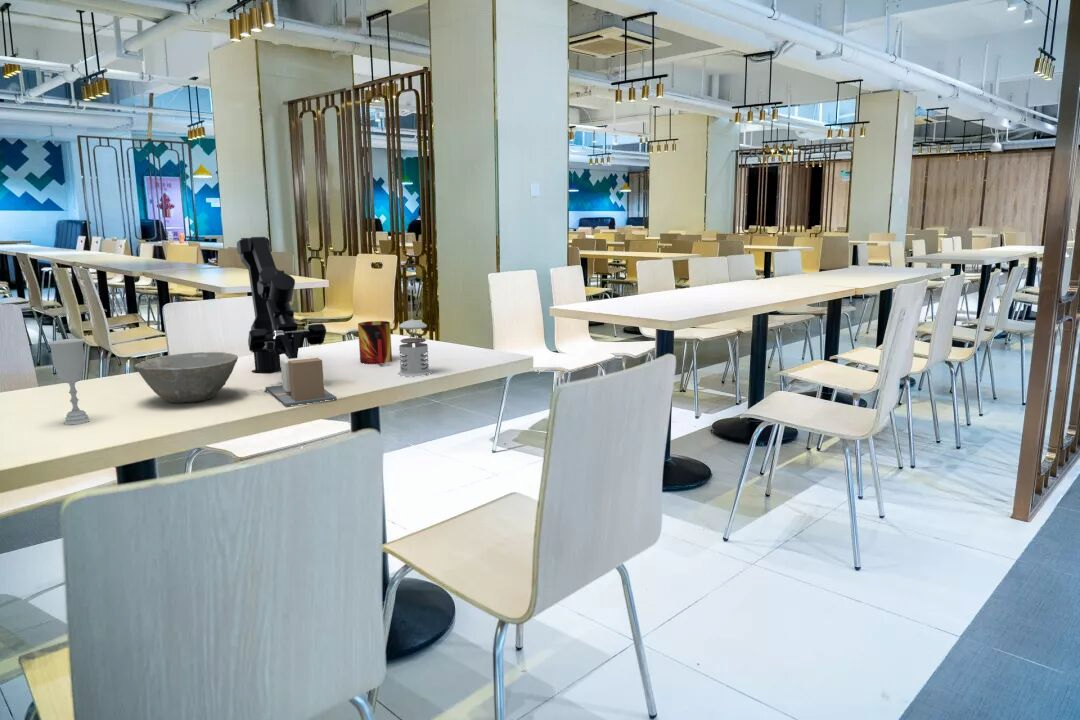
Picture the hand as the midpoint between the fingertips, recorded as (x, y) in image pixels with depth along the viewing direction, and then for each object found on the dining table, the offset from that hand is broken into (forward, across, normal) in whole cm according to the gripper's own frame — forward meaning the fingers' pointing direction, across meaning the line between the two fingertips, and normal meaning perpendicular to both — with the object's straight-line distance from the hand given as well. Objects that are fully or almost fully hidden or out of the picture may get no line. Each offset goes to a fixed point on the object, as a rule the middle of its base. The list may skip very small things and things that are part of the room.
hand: (295, 362), depth 187 cm
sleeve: (+6, 0, -2) cm, 7 cm away
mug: (-15, -32, -26) cm, 44 cm away
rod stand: (+7, 0, -4) cm, 8 cm away
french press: (+1, -34, -10) cm, 36 cm away
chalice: (+6, +48, -6) cm, 48 cm away
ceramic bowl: (0, +24, -12) cm, 26 cm away
